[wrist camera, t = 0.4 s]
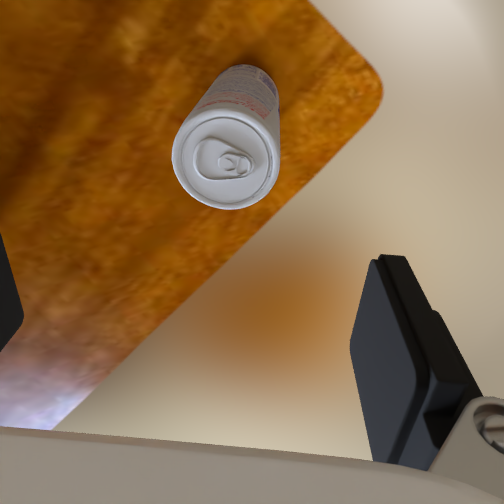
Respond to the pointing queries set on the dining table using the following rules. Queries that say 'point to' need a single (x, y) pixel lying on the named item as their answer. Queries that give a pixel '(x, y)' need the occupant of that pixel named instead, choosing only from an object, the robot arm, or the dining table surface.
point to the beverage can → (231, 140)
